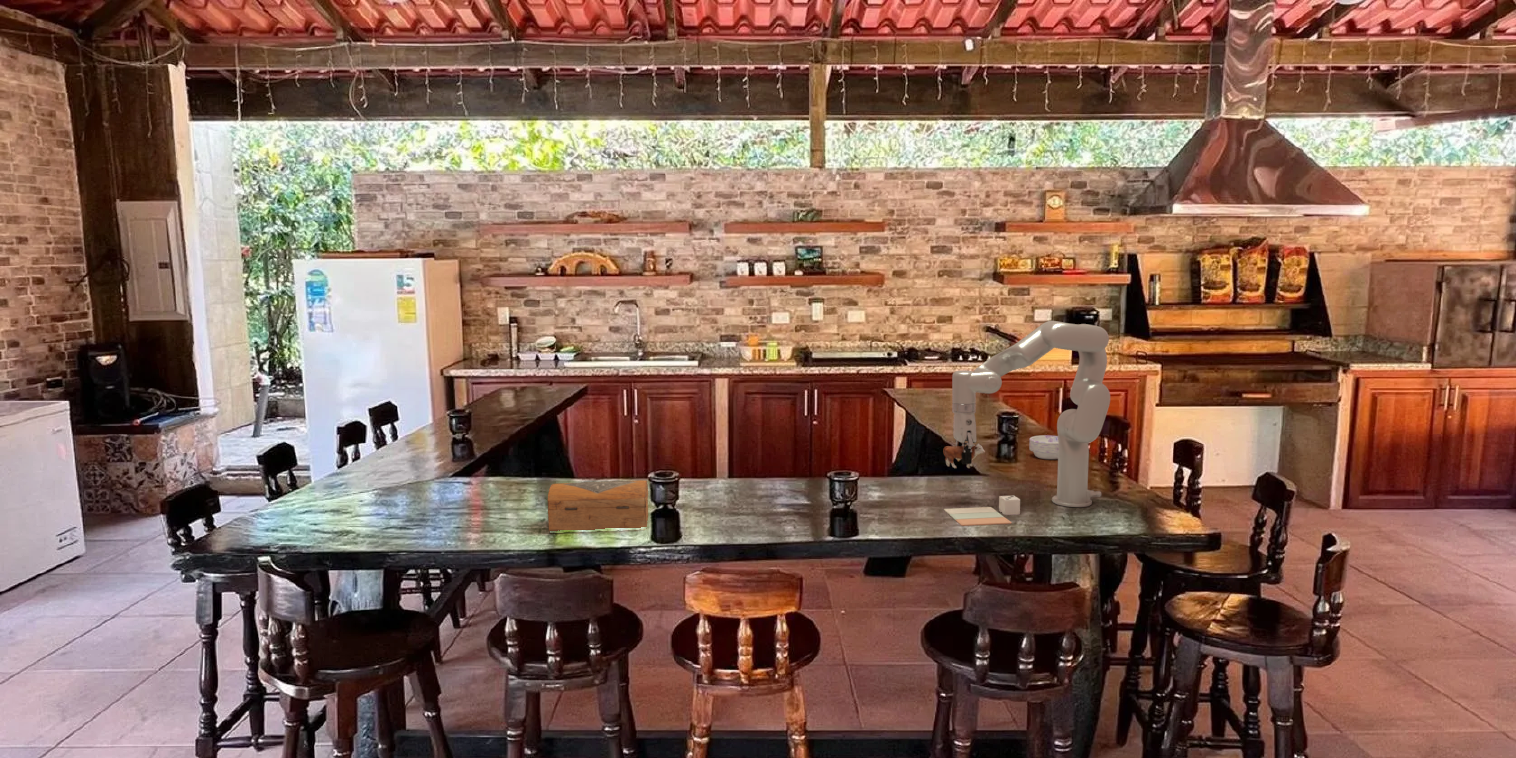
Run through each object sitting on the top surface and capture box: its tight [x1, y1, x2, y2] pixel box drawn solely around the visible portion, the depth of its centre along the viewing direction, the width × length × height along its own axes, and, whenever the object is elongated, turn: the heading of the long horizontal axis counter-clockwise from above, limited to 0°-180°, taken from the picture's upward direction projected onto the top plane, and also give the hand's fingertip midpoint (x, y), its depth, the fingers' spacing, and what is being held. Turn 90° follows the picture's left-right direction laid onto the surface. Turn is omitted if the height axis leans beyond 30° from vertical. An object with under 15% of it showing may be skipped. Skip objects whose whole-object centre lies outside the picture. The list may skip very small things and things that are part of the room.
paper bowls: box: [1028, 434, 1059, 460], centre depth 362 cm, size 15×15×8 cm
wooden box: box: [547, 479, 649, 532], centre depth 276 cm, size 30×16×14 cm, turn 94°
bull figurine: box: [942, 443, 986, 469], centre depth 291 cm, size 4×13×8 cm, turn 79°
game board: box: [943, 506, 1013, 527], centre depth 280 cm, size 16×18×1 cm
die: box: [998, 495, 1021, 516], centre depth 284 cm, size 5×5×5 cm
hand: (963, 461), depth 292 cm, fingers closed on bull figurine, 5 cm apart
